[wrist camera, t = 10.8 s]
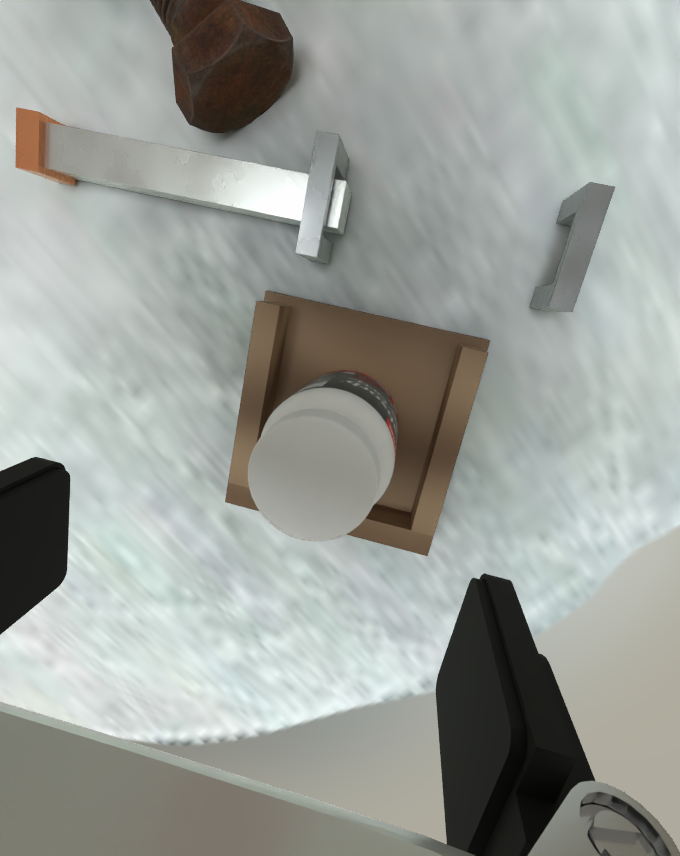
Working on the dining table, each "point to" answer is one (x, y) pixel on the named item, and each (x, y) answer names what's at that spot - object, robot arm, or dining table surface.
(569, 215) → the pin lugs
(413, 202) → the dining table surface
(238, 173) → the pin
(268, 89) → the bolt
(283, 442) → the pill bottle
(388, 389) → the dock
